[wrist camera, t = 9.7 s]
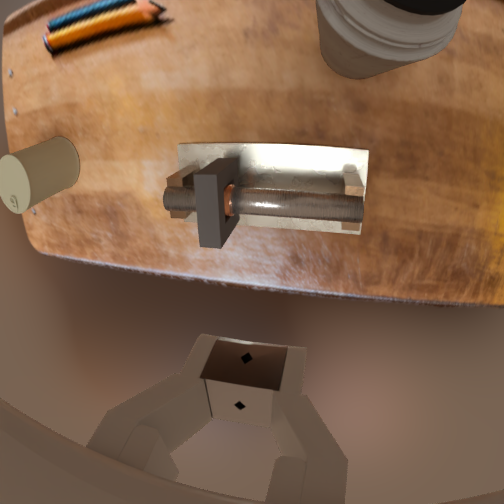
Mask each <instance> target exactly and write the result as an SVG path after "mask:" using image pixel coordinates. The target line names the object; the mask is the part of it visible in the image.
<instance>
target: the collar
mask: <svg viewBox="0 0 504 504" xmlns="http://www.w3.org/2000/svg"><path fill="white" fill-rule="evenodd" d="M193 175H194V188H195V200H196V211H197V222H198V233H199V243H200V247H207V248H219V249H221V248H222V247H223V245H224V243H225V242H226V240H227V239H228V237H229V236H230V234H231V233H232V231H233V229H234V228H235V226H236V225H237V223H238V222H239V220H240V215H239V214H234V215H233V216H225V206H224V188H225V187H226V186H227V185H235V187H239V186H238V158H217V159H216V160H214V161H213V162H211V163H210V164H208V165H207V166H205V167H204V168H202V169H201V170H199V171H198V172H196V173H195V174H193Z"/></svg>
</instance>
